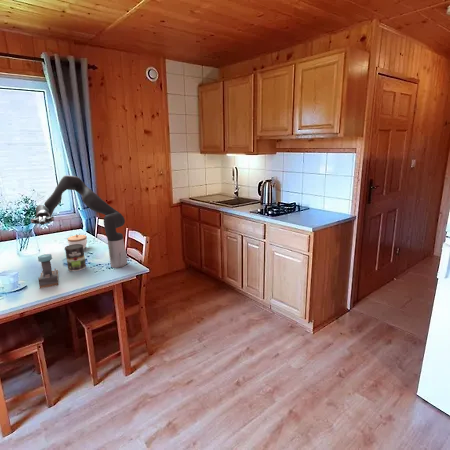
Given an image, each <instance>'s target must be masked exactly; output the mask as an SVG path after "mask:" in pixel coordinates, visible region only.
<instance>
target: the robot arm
mask: <svg viewBox="0 0 450 450" xmlns="http://www.w3.org/2000/svg"><path fill="white" fill-rule="evenodd" d="M68 190H69V191H75V192H77V193H78V194H80V196H81V200H82V202H83V204H84V205H85V206H86V207H87V208H89V210H92V212H96V213H99V214H102V215H104V217H103V226H104V231H105V232H104V233H105V236H106V237H107V238H106V239H107V244H108V245H107V246H108V247H107V248H108V254H109V263H110V267H112V268H116V269H117V268H124V266H126V265H127V264H128V256H127V250H126V249H125V243H124V240H125V239H124V234H123V233H121V232H117V229H118V228H121V227H123V226H124V225H125V224H126V219H125V216H123V215H122V213H120V212H119V211H118V210H116V209H115V208H113V207H112V206H110V204H108V203H107V202H105V200H103V199H102V198H101V197H100V196H99V195H98V194H96V193H95V192H94V191H93V190H92V189H91V188H90V187H88V186H87V185H86V183H85V182H84V181H83V180H82V179H81V178H80V177H78V176H77V175H68V174H66V175H63V176H62V177H61V178H60V180H59V181H58V183H57V185H56V187H55V189H54V190H53V192H52V194H51V195H50V196H49V197H48V198H47V200H45V202H44V205H43V204H38V205H37V206H36V207H35V209H36V214H35V218H30V223H31V224H35V225H41V226H42V225H46V224H47V223H51V222H54V221H55V216H52V215H53V214H54V211H55V209H56V208H57V207H58V206H59V205H60V203H61V202H62V197H63V196H62V195H63V193H64V192H65V191H68Z"/></svg>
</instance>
